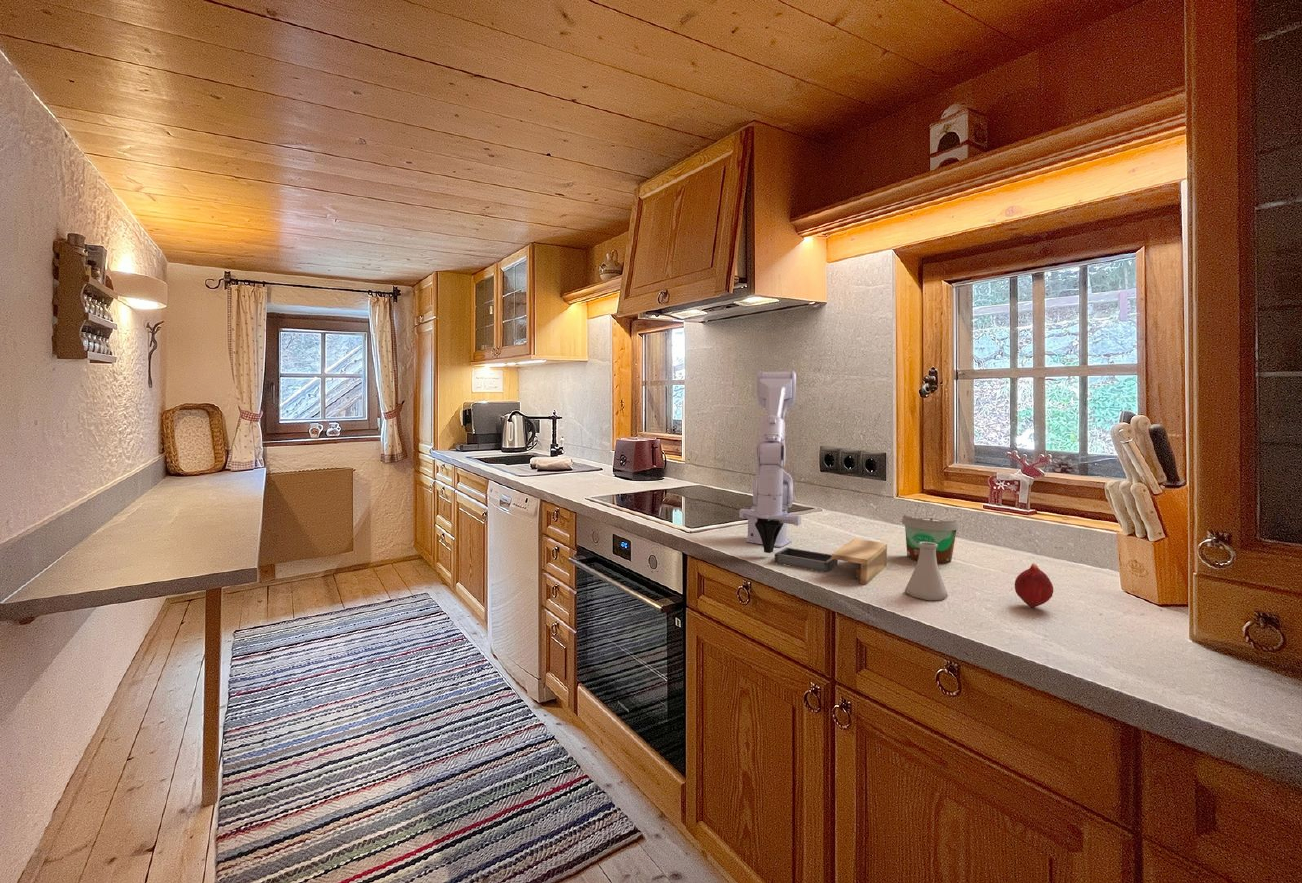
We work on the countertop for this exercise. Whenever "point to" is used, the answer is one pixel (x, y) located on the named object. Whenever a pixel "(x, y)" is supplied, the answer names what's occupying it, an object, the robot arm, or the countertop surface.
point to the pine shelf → (864, 557)
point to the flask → (926, 575)
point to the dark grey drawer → (806, 559)
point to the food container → (930, 536)
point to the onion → (1033, 586)
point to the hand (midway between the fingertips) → (768, 551)
